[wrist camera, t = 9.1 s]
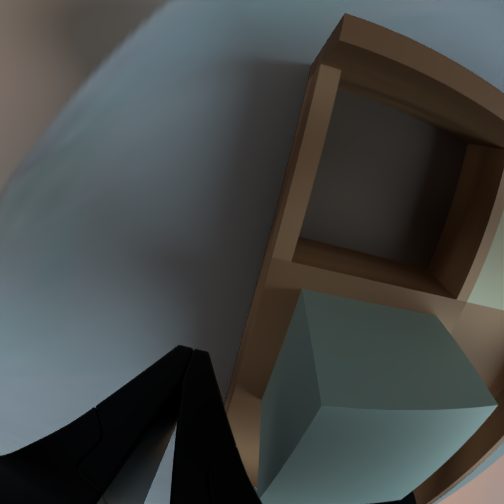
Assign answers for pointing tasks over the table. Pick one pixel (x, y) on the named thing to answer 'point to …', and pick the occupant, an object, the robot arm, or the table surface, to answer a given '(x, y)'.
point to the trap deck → (387, 218)
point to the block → (363, 404)
